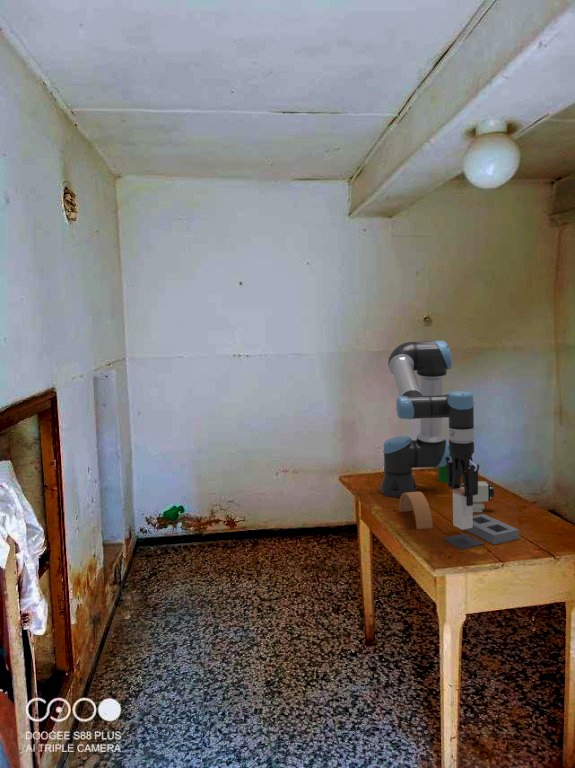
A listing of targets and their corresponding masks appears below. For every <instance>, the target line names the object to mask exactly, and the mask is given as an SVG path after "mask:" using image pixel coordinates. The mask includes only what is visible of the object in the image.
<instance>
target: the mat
mask: <svg viewBox="0 0 575 768" xmlns="http://www.w3.org/2000/svg"><path fill="white" fill-rule="evenodd" d="M442 540H444V541H445V542H446V543H448V544H450V545H451V546H453V547H455V548H457V549H458V550H467V549H470V548H474V547H479V546H484V545H485V543H484V542H482V541H480V540H479V539H477V538H475V537H474V536H471V535H469V534H468V533H466V532H464V533H461V534H455V535H451V536H447V537H446V536H445V537H442Z"/></svg>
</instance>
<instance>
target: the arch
mask: <svg viewBox="0 0 575 768" xmlns="http://www.w3.org/2000/svg"><path fill="white" fill-rule="evenodd" d="M398 511H399V512H402V513H403V512H404V513H405V512H411V511H413V513H414V517H415V518H414V519H415V526H416V530H426V529H433V528H434V524H433V518H432V517H433V516H432V512H431V508H430V505H429V502H428V499H427V497H425V495H424V493H423V492H422V491H417V492H407V493H403V494H402V495H401V497H399V506H398Z"/></svg>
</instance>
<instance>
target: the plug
mask: <svg viewBox="0 0 575 768" xmlns="http://www.w3.org/2000/svg"><path fill="white" fill-rule="evenodd" d="M464 494H465V490H464V487H462V488H456V489H453V494H452V519H453V520H452V522H453V523H452V525H453V526H454V527H456V528H458V529H459V530H461V531H464V530H465V529H468V528H473V516H474V513H473V510H472V515H469V516H464V509H463V495H464Z"/></svg>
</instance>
